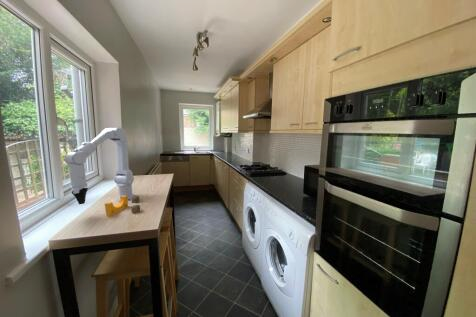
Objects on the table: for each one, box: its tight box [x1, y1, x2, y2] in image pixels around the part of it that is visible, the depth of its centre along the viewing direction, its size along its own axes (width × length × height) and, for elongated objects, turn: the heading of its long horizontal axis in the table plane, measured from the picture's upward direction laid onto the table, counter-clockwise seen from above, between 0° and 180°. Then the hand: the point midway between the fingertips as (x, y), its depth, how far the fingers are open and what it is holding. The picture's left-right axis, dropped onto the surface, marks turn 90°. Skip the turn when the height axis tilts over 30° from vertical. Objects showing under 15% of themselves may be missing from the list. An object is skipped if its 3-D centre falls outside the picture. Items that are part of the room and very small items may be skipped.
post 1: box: [130, 195, 140, 204], centre depth 112 cm, size 4×4×3 cm
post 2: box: [131, 204, 141, 214], centre depth 99 cm, size 4×4×3 cm
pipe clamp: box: [104, 196, 129, 217], centre depth 100 cm, size 12×4×6 cm, turn 170°
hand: (81, 203), depth 94 cm, fingers closed
